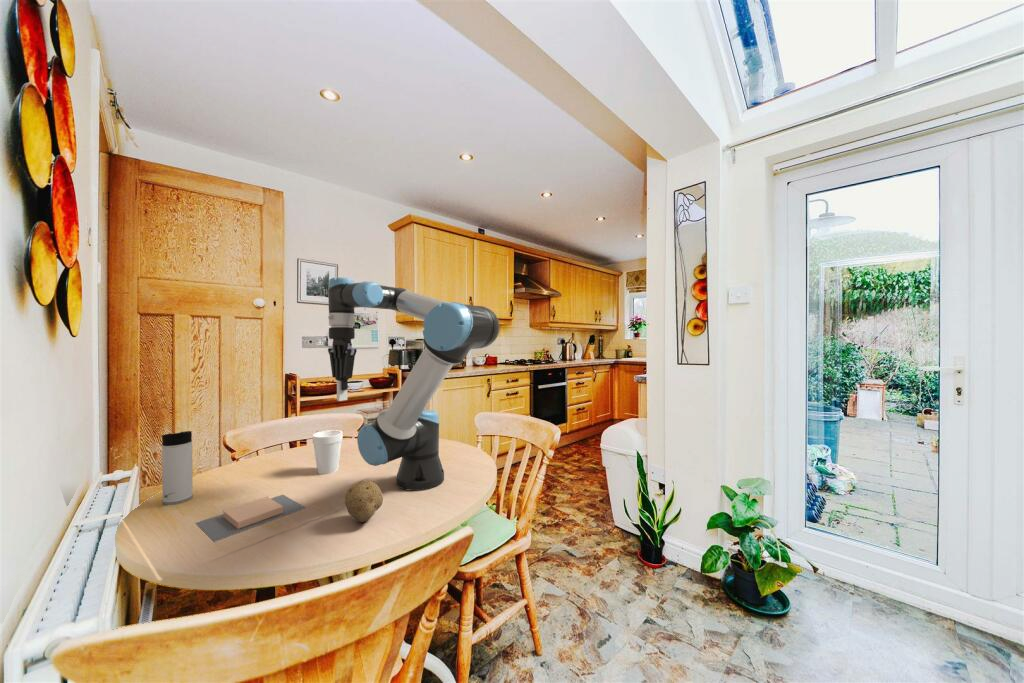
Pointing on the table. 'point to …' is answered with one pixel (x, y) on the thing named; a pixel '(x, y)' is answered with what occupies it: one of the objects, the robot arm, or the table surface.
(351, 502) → the natural sponge
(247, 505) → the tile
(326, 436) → the foam cup
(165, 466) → the travel mug
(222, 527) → the felt mat
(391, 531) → the table surface
